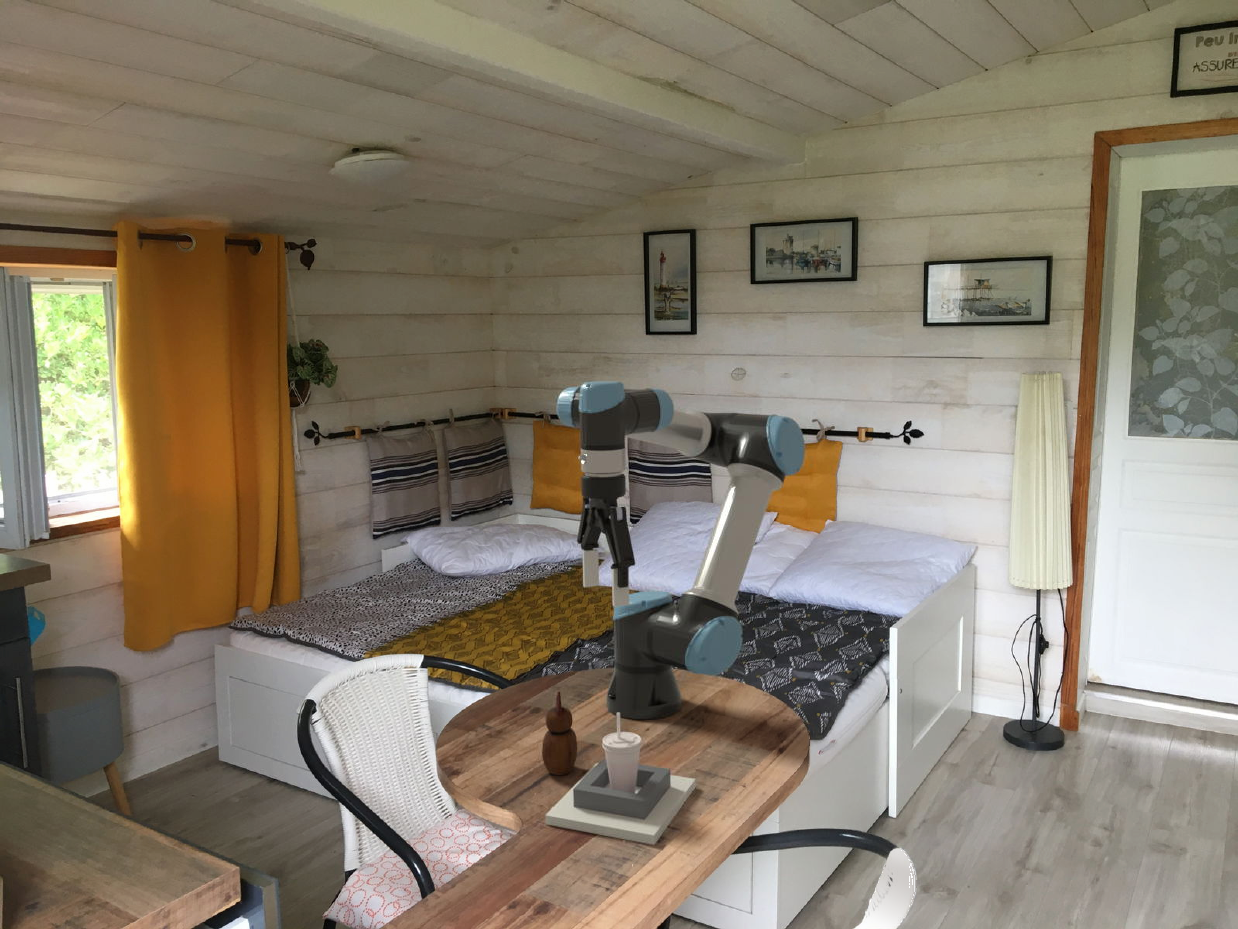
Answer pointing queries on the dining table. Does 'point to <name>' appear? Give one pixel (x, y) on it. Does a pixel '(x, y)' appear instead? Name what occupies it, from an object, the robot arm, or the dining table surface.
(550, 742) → the wooden figurine
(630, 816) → the socket board
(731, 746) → the dining table surface
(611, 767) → the smoothie
